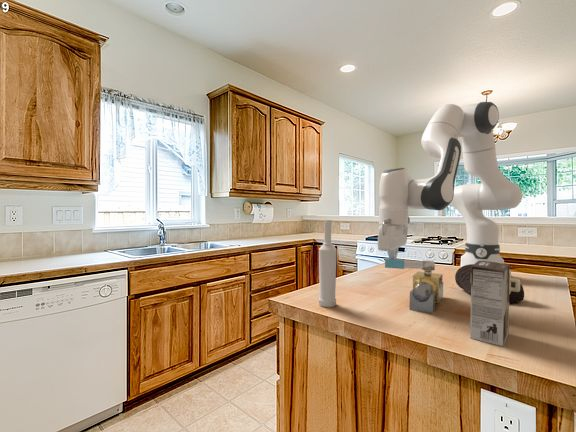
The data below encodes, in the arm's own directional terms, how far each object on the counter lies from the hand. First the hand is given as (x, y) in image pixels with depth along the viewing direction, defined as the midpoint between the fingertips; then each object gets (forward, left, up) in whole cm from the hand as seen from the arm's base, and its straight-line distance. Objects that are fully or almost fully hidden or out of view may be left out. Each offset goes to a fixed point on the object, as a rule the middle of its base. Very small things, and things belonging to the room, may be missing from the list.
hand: (392, 262), depth 98 cm
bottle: (+19, -13, -12) cm, 26 cm away
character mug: (+4, +27, -12) cm, 30 cm away
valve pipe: (0, +11, -11) cm, 15 cm away
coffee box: (+18, +26, -12) cm, 34 cm away
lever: (+1, +5, -1) cm, 6 cm away
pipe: (-19, +25, -12) cm, 33 cm away
